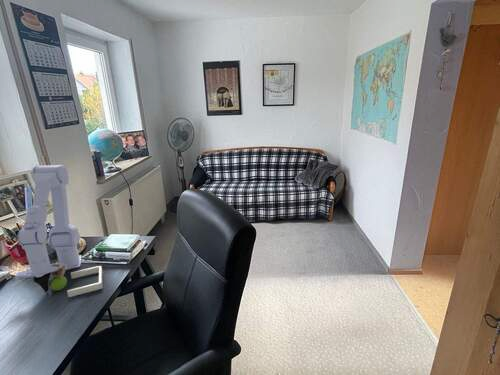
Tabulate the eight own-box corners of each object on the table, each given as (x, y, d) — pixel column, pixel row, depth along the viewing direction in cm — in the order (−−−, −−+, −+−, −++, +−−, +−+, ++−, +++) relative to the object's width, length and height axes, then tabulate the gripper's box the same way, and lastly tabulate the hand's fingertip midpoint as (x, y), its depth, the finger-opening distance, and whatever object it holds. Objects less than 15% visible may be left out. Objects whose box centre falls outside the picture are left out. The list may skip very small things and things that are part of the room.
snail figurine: (60, 295, 98) (58, 266, 95) (45, 291, 99) (43, 262, 96) (73, 287, 103) (71, 259, 100) (58, 283, 104) (56, 255, 101)
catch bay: (72, 277, 108) (70, 272, 107) (102, 270, 112) (101, 265, 112) (68, 297, 97) (67, 291, 96) (102, 288, 102) (101, 282, 101)
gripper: (8, 270, 88) (19, 303, 92) (61, 259, 94) (69, 291, 99) (14, 259, 94) (24, 291, 98) (64, 249, 100) (71, 280, 105)
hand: (47, 290), depth 99 cm, fingers closed
